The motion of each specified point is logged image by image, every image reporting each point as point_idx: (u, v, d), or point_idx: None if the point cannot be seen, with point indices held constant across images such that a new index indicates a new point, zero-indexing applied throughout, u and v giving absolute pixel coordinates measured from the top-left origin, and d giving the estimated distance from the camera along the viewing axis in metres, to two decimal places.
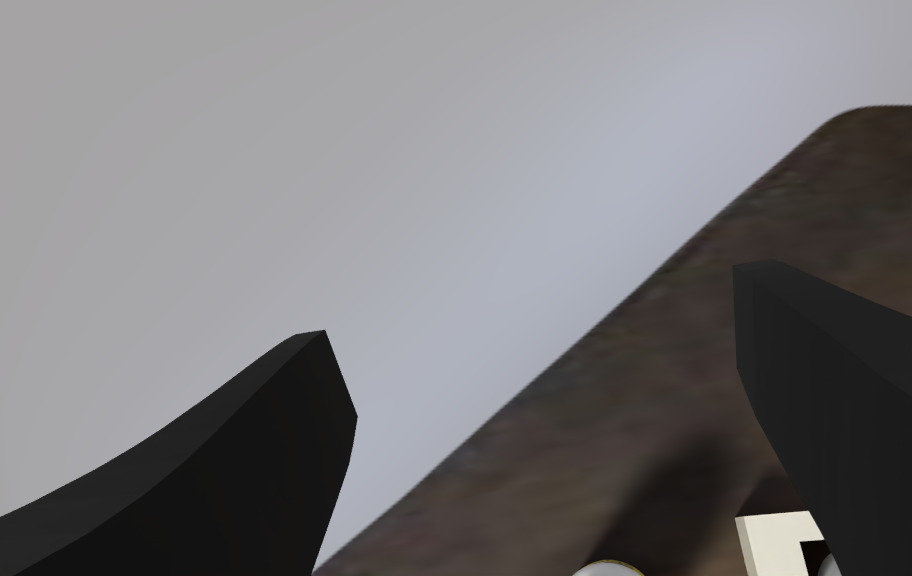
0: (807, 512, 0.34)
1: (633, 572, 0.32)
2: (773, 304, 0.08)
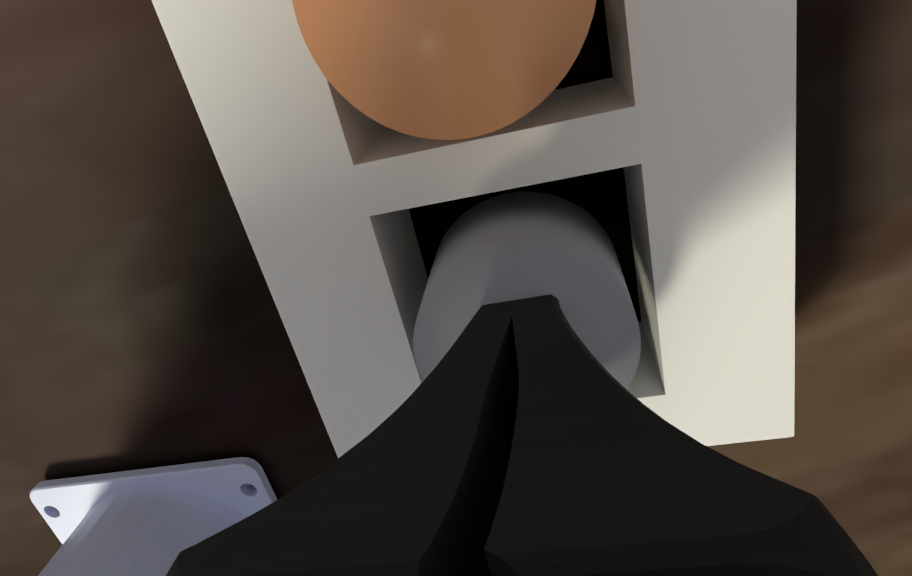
0: None
1: None
2: None
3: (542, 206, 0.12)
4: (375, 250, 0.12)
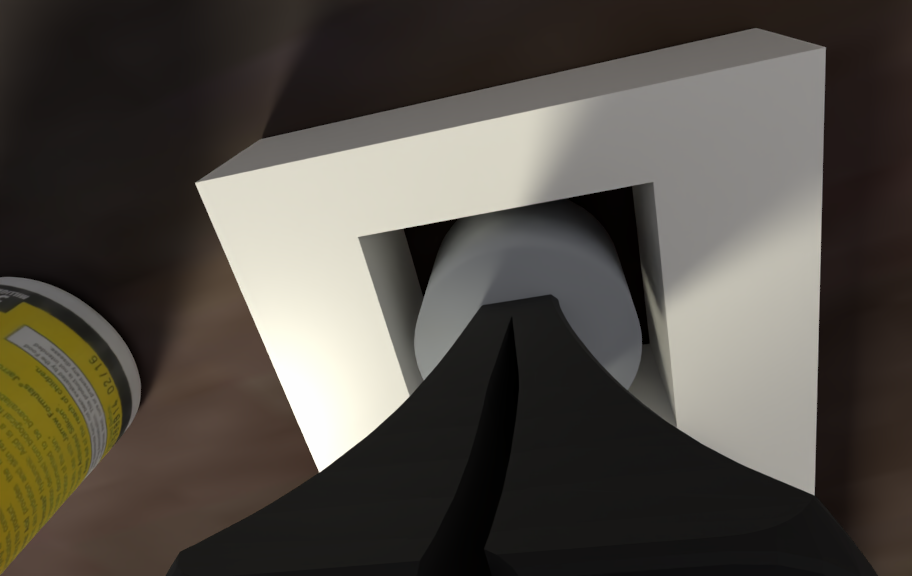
0: (377, 148, 0.10)
1: None
2: None
3: None
4: None
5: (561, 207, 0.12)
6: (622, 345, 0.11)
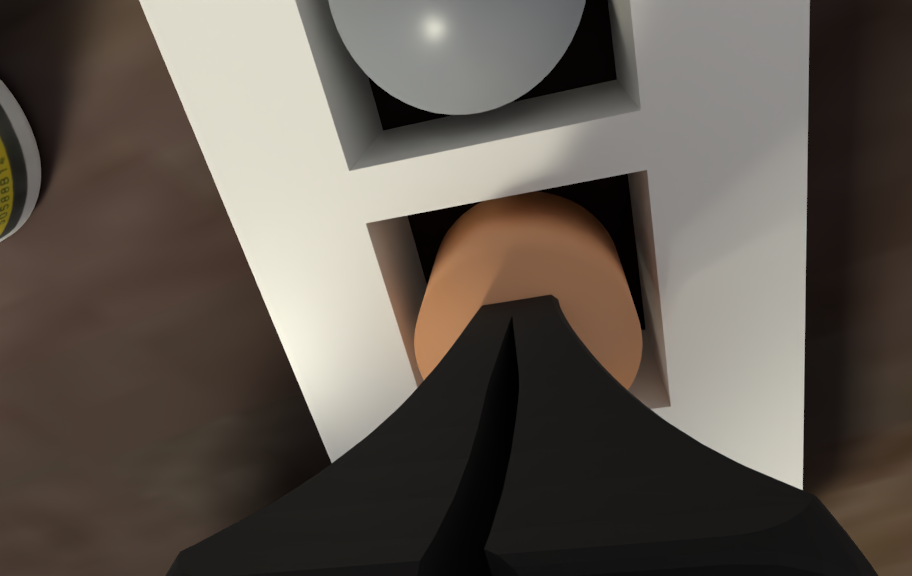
0: None
1: None
2: None
3: None
4: None
5: None
6: None
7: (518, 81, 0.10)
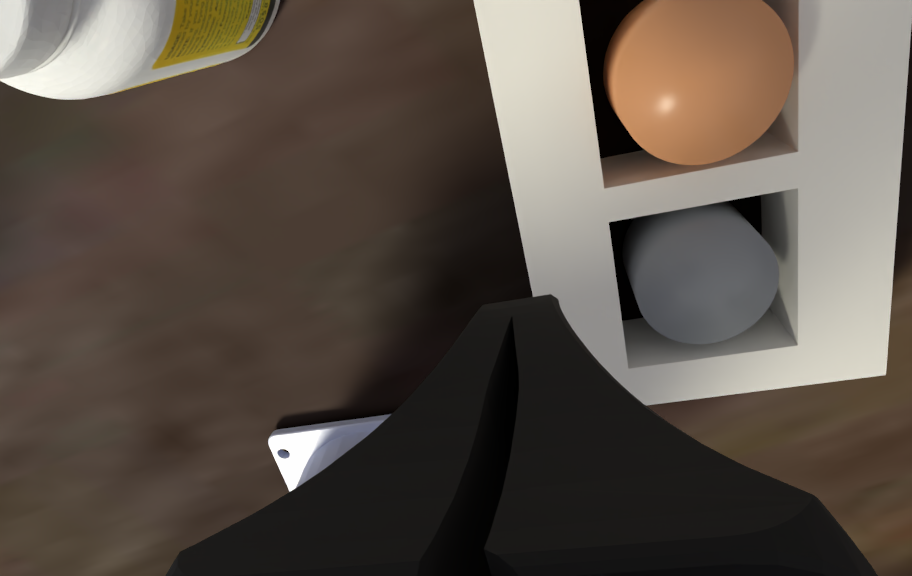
0: None
1: None
2: None
3: None
4: (608, 245, 0.18)
5: None
6: None
7: None
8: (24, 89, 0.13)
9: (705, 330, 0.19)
